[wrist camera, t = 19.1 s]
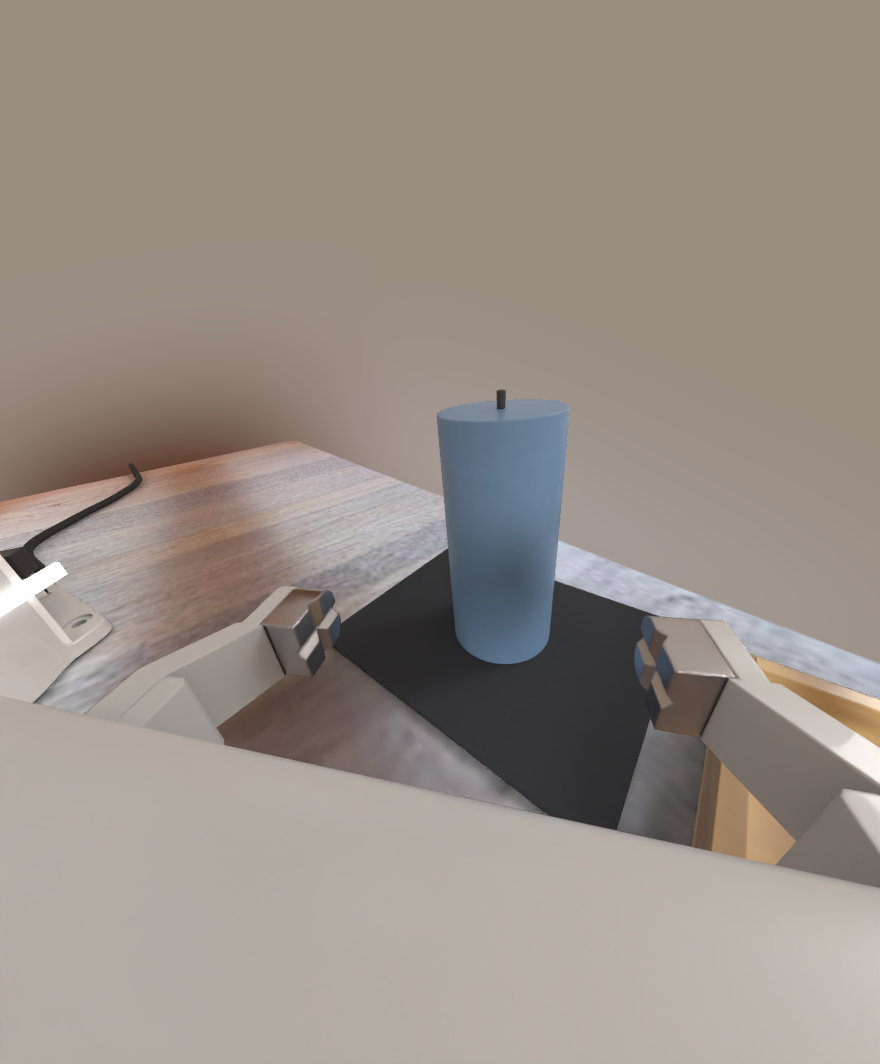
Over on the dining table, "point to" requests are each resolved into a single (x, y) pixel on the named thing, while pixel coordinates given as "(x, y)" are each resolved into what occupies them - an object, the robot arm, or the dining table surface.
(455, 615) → the candle
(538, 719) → the placemat
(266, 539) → the dining table surface
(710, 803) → the wooden tray
